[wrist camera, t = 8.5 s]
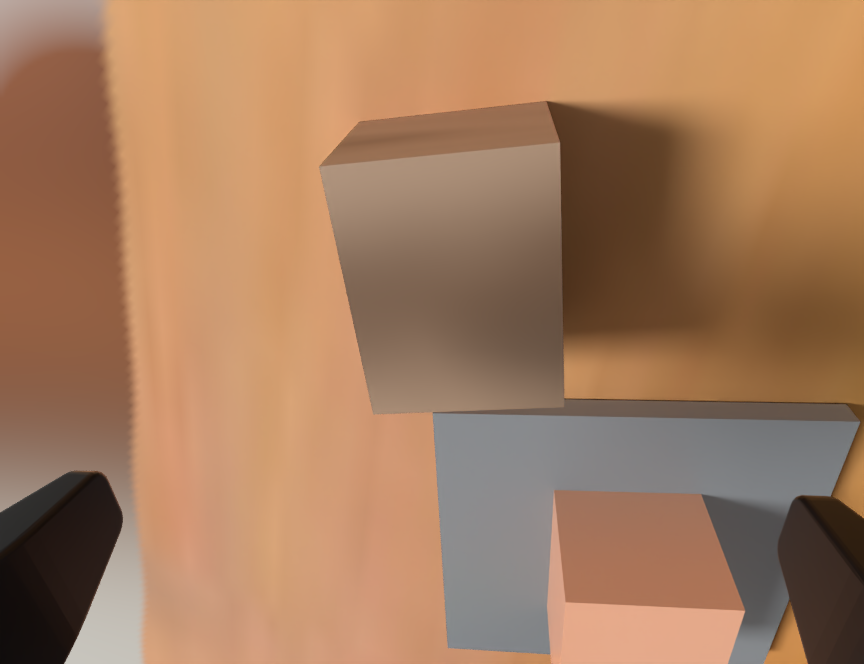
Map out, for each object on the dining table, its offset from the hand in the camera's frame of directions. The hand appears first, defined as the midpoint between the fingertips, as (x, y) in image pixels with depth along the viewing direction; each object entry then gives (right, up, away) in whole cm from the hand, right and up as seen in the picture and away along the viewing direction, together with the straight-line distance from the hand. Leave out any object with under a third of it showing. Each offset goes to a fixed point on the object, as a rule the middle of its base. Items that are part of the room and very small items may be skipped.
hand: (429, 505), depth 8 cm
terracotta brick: (+6, -5, +13) cm, 15 cm away
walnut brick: (+1, +5, +8) cm, 10 cm away
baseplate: (+6, -5, +13) cm, 16 cm away
